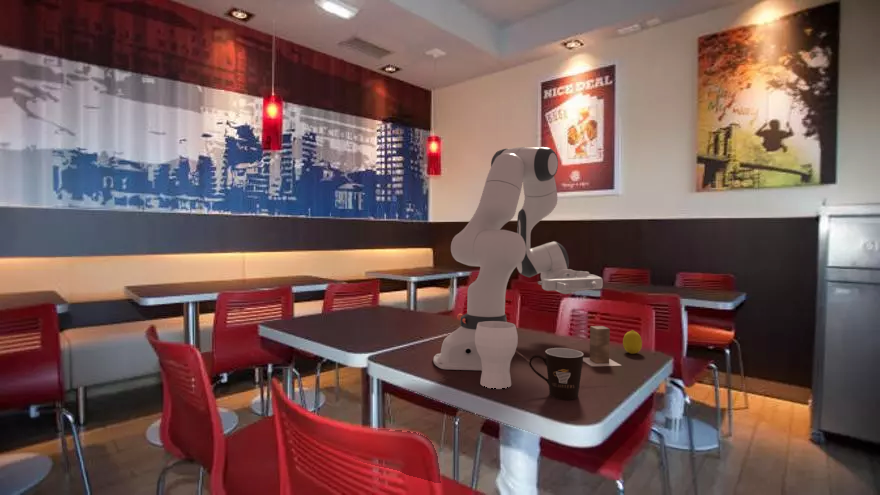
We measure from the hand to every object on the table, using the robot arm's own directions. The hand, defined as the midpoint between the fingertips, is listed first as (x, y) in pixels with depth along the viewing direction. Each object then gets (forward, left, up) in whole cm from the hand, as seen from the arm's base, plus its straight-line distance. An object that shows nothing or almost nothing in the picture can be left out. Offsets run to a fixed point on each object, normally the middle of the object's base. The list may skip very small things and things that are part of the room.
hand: (580, 286), depth 143 cm
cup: (-35, -29, -21) cm, 50 cm away
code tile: (0, -14, -21) cm, 25 cm away
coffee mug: (-22, -37, -21) cm, 48 cm away
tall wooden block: (0, -14, -21) cm, 25 cm away
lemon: (+15, -6, -21) cm, 27 cm away
